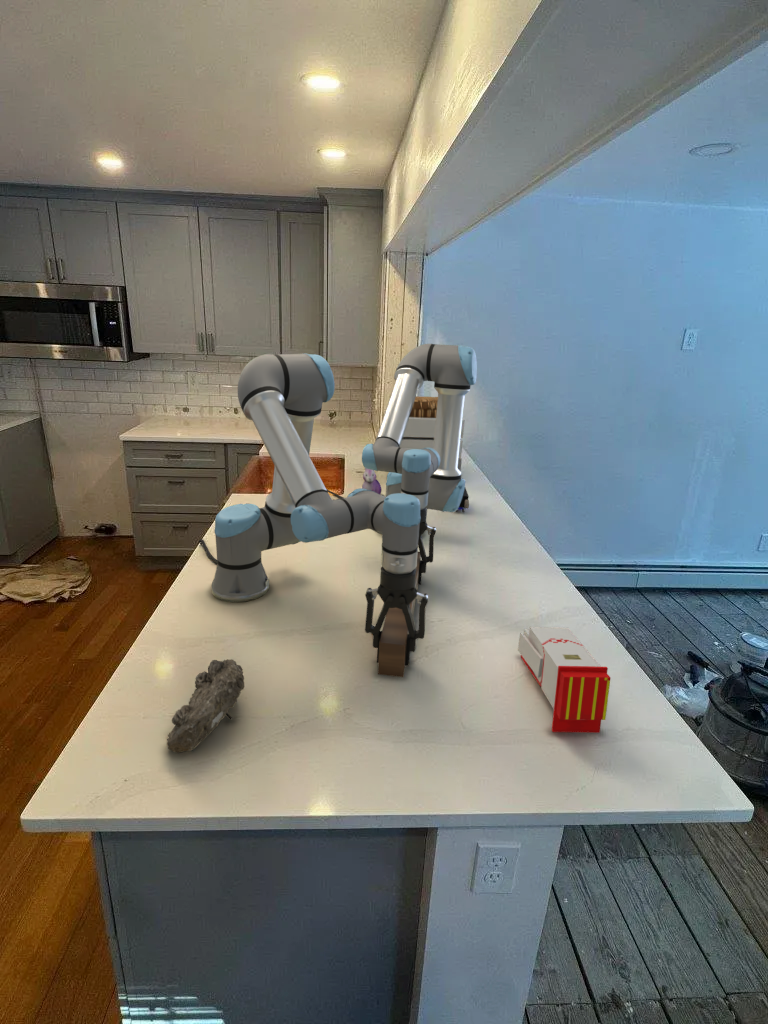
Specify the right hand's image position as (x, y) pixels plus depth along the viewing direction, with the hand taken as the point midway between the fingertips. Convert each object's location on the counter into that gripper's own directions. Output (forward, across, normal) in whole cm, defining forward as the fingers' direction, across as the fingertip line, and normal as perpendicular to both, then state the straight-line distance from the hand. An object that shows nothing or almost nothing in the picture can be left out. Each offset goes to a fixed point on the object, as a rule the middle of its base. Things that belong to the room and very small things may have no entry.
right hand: (408, 581), depth 164 cm
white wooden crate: (+1, -5, +118) cm, 118 cm away
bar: (+1, 0, -20) cm, 20 cm away
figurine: (+1, -22, +75) cm, 78 cm away
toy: (+1, +35, -43) cm, 55 cm away
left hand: (0, 0, -40) cm, 40 cm away
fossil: (+1, -32, -64) cm, 72 cm away
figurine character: (+1, +14, +70) cm, 72 cm away
